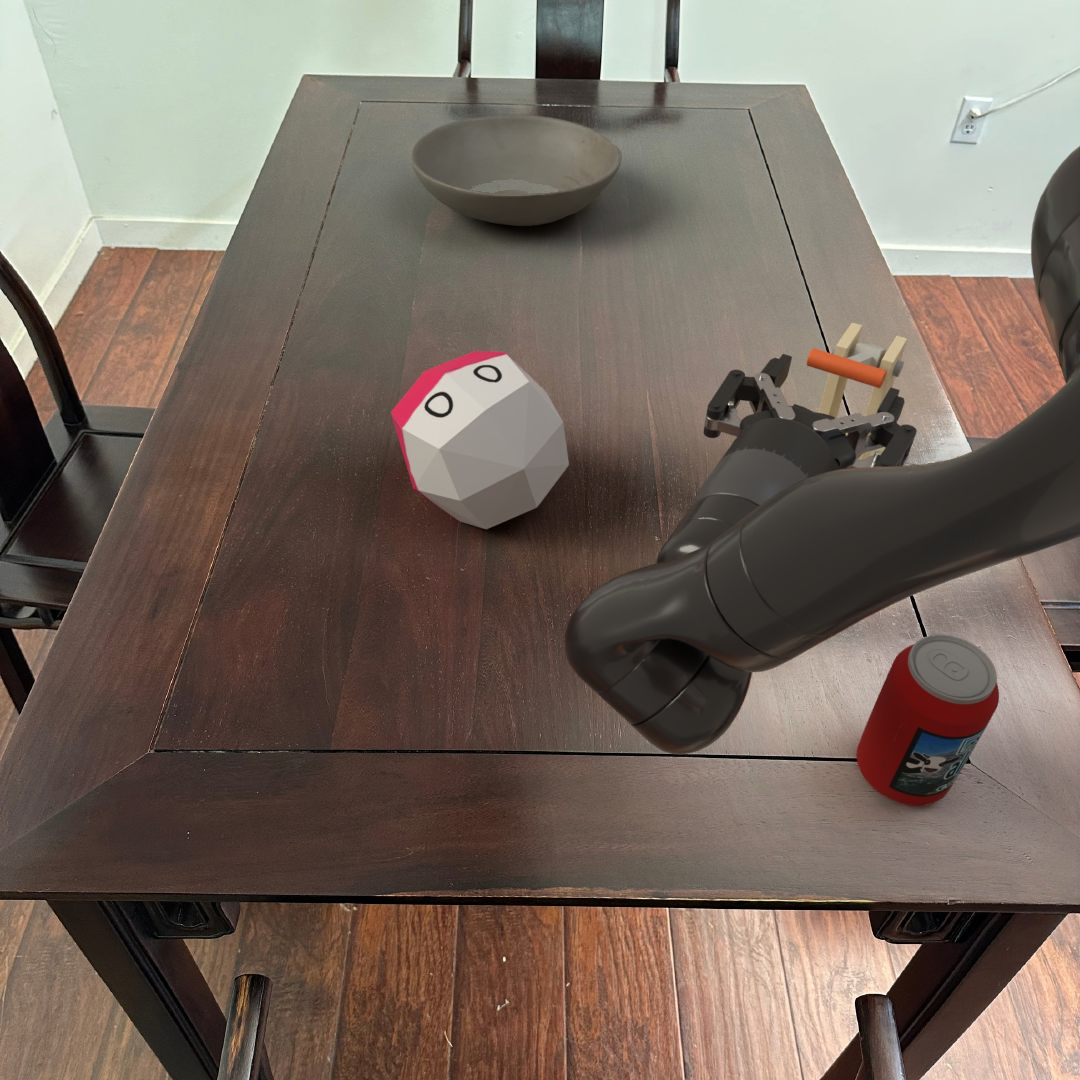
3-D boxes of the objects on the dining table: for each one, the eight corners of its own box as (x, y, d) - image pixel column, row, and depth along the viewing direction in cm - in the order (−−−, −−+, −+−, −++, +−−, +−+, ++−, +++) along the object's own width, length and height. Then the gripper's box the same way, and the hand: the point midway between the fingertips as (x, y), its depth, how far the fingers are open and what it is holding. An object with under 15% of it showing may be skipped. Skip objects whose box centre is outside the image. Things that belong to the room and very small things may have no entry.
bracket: (859, 525, 88) (904, 392, 78) (767, 491, 92) (798, 358, 81) (896, 455, 96) (942, 325, 86) (809, 426, 99) (843, 297, 89)
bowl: (623, 258, 124) (629, 196, 118) (406, 255, 124) (400, 193, 118) (612, 170, 144) (616, 113, 138) (424, 167, 144) (420, 109, 138)
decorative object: (471, 301, 88) (560, 344, 77) (532, 425, 97) (619, 479, 86) (338, 396, 85) (411, 455, 74) (415, 515, 94) (489, 583, 83)
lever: (876, 395, 75) (887, 365, 74) (802, 371, 77) (812, 342, 76) (898, 381, 85) (908, 355, 84) (832, 361, 87) (841, 335, 87)
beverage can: (912, 830, 66) (969, 728, 58) (833, 764, 70) (876, 659, 62) (968, 776, 69) (1030, 672, 61) (889, 716, 73) (938, 610, 65)
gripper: (880, 493, 60) (945, 367, 70) (671, 420, 65) (759, 312, 75) (851, 577, 65) (915, 448, 75) (660, 503, 70) (744, 392, 80)
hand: (837, 380), depth 75 cm, fingers open, 8 cm apart
